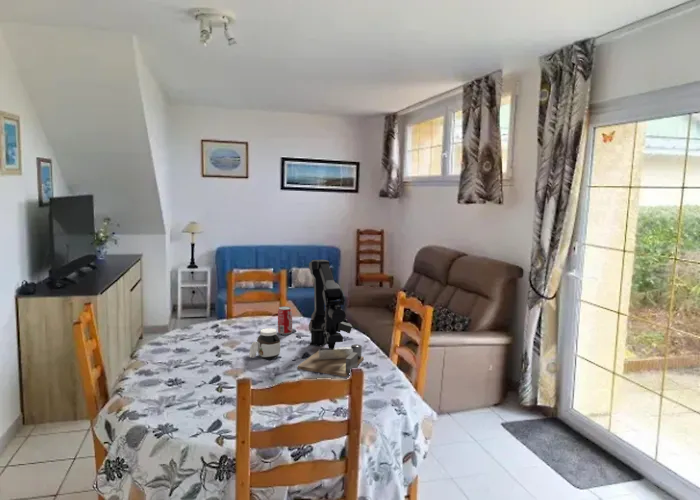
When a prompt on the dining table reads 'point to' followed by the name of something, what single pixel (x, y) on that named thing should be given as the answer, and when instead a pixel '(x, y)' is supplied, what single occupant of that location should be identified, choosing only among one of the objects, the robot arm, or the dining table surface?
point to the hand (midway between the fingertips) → (331, 351)
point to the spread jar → (266, 345)
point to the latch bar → (339, 352)
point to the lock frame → (331, 364)
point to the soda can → (284, 320)
